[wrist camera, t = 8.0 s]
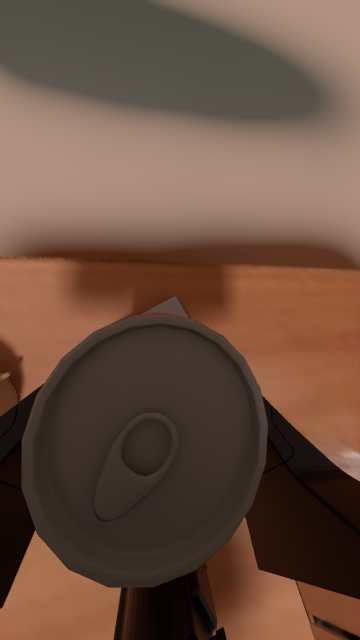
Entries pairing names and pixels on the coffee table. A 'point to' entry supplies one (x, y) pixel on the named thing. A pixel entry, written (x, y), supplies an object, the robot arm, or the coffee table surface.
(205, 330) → the beer can
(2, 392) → the alarm clock
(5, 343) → the coffee table surface
